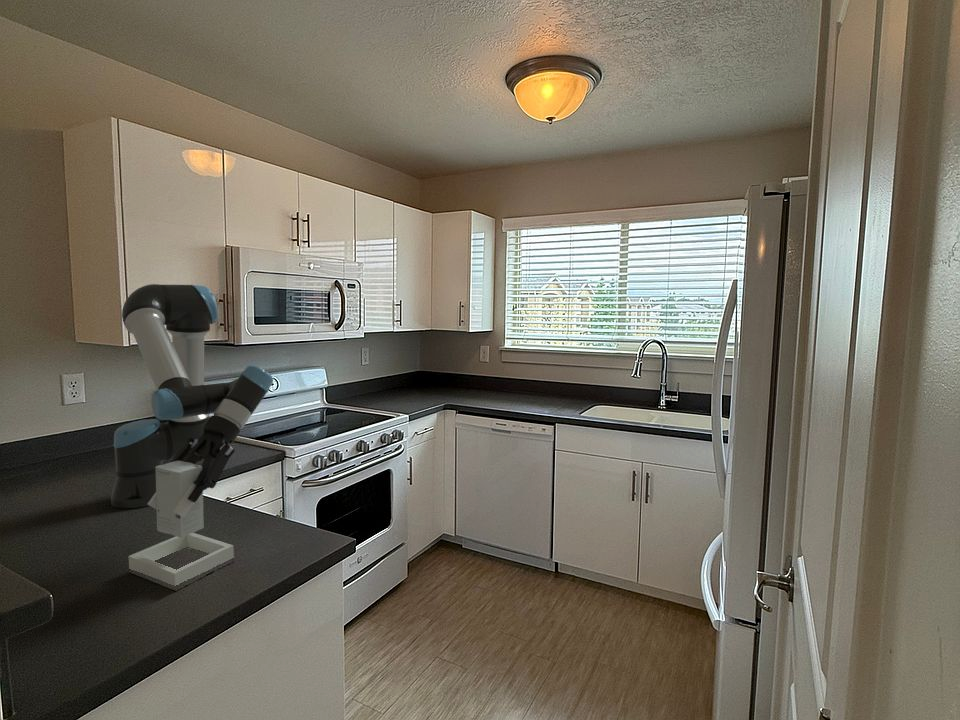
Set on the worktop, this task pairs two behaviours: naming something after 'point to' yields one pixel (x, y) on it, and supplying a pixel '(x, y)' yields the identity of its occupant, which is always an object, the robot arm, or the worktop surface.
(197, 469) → the skincare box
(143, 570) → the tray
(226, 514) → the worktop surface
